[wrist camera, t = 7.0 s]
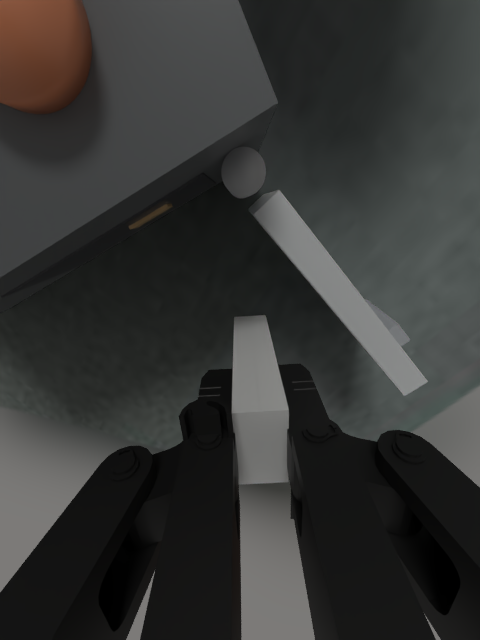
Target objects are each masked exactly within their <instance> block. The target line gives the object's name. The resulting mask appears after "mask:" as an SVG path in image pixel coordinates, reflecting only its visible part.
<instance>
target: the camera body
mask: <svg viewBox="0 0 480 640" xmlns="http://www.w3.org/2000/svg"><path fill="white" fill-rule="evenodd" d="M277 104H278V101H277V98H276V96H275V93H274V90H273V88H272V85H271V83H270V80H269V78H268V75H267V72H266V70H265V67H264V65H263V62H262V60H261V57H260V55H259V52H258V49H257V47H256V44H255V42H254V39H253V37H252V34H251V32H250V29H249V26H248V24H247V21H246V19H245V16H244V14H243V11H242V8H241V6H240V3H239V1H238V0H0V313H1V312H3V311H6V310H8V309H10V308H11V307H13V306H15V305H16V304H18V303H20V302H21V301H23V300H25V299H26V298H28V297H30V296H31V295H33V294H35V293H36V292H38V291H40V290H41V289H43V288H45V287H46V286H48V285H50V284H51V283H53V282H55V281H56V280H58V279H60V278H61V277H63V276H65V275H66V274H68V273H70V272H71V271H73V270H75V269H76V268H78V267H80V266H81V265H83V264H85V263H86V262H88V261H90V260H91V259H93V258H95V257H96V256H98V255H100V254H101V253H103V252H105V251H106V250H108V249H110V248H111V247H113V246H115V245H116V244H118V243H120V242H122V241H123V240H125V239H127V238H128V237H130V236H132V235H133V234H135V233H137V232H138V231H140V230H142V229H143V228H145V227H147V226H148V225H150V224H152V223H153V222H155V221H157V220H158V219H160V218H162V217H163V216H165V215H167V214H168V213H170V212H172V211H173V210H175V209H177V208H178V207H180V206H182V205H183V204H185V203H187V202H188V201H190V200H192V199H193V198H195V197H197V196H198V195H200V194H202V193H203V192H205V191H207V190H208V189H210V188H212V187H213V186H215V185H217V184H218V183H220V182H222V181H223V183H224V185H225V186H226V188H227V189H228V190H229V192H230V193H231V194H232V195H233V196H234V197H236V198H240V199H242V198H246V197H249V196H251V195H253V194H255V193H256V192H257V191H259V189H260V188H261V187H262V185H263V183H264V181H265V177H266V166H265V162H264V160H263V158H262V156H261V155H260V154H259V153H258V150H259V148H260V145H261V143H262V141H263V138H264V136H265V133H266V131H267V129H268V126H269V124H270V121H271V119H272V116H273V114H274V112H275V109H276V107H277Z"/></svg>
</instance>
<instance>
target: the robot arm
mask: <svg viewBox="0 0 480 640" xmlns="http://www.w3.org/2000/svg"><path fill="white" fill-rule="evenodd" d="M179 419H180V425H181V430H182V435H183V440H184V441H182V442H181V443H180V444H178V445H177V446H175V447H173V448H171V449H168V450H165V451H162V452H159V453H156V454H153V455H152V454H151V453H150V452H149V450H148V449H147V448H144V447H141V446H128V447H125V448H122V449H119V450H117V451H116V452H114V453H112V454H111V455H110V456H108V457H107V458H106V459H105V460H104V461H103V462H102V463H101V464H100V466H99V467H98V468H97V469H96V471H95V472H94V473H93V475H92V476H91V477H90V478H89V480H88V481H87V482H86V483H85V485H84V486H83V487H82V489H81V490H80V491H79V493H78V494H77V495H76V496H75V498H74V499H73V500H72V501H71V503H70V504H69V505H68V507H67V508H66V509H65V510H64V512H63V513H62V514H61V516H60V517H59V518H58V519H57V521H56V522H55V523H54V525H53V526H52V527H51V529H50V530H49V531H48V532H47V533H46V535H45V536H44V538H43V539H42V540H41V541H40V542H39V544H38V545H37V547H36V548H35V549H34V550H33V551H32V553H31V554H30V555H29V557H28V558H27V559H26V560H25V562H24V563H23V564H22V566H21V567H20V568H19V570H18V571H17V572H16V573H15V575H14V576H13V577H12V578H11V580H10V581H9V582H8V584H7V585H6V586H5V587H4V589H3V590H2V591H1V592H0V640H126V638H127V636H128V634H129V631H130V629H131V626H132V624H133V622H134V619H135V616H136V614H137V612H138V610H139V607H140V605H141V602H142V600H143V597H144V595H145V593H146V590H147V588H148V585H149V583H150V581H151V578H152V576H153V573H154V571H155V574H154V579H153V583H152V588H151V593H150V597H149V602H148V606H147V611H146V615H145V620H144V625H143V629H142V634H141V639H140V640H241V567H240V503H239V502H240V501H239V489H238V488H239V485H242V484H259V483H260V484H261V483H279V482H280V483H281V482H288V474H289V480H290V485H291V519H294V520H295V527H296V533H297V538H298V544H299V549H300V555H301V561H302V567H303V573H304V578H305V584H306V589H307V595H308V600H309V607H310V612H311V618H312V623H313V629H314V635H315V640H436V639H435V637H434V635H433V632H432V630H431V628H430V626H429V624H428V621H427V619H426V617H427V618H428V620H429V621H430V623H431V625H432V626H433V628H434V629H435V631H436V632H437V634H438V636H439V637H440V639H441V640H480V487H478V486H477V485H476V484H475V483H474V482H473V481H472V480H471V479H470V478H468V477H467V476H466V475H465V474H464V473H463V472H462V471H461V470H459V469H458V468H457V467H456V466H455V465H454V464H453V463H452V462H450V461H449V460H448V459H447V458H446V457H445V456H443V454H442V453H441V452H439V451H438V450H437V449H436V448H435V447H434V446H433V445H432V444H430V443H429V442H427V441H426V440H425V439H423V438H422V437H420V436H417V435H415V434H413V433H410V432H406V431H401V430H392V431H387V432H385V433H383V434H381V436H380V437H379V439H378V441H377V442H375V441H370V440H365V439H360V438H356V437H353V436H350V435H347V434H345V433H343V432H342V430H341V429H340V428H339V426H338V425H337V424H336V423H334V422H333V421H331V420H330V419H329V418H328V415H327V413H326V410H325V408H324V406H323V403H322V401H321V398H320V396H319V394H318V391H317V389H316V386H315V384H314V382H313V379H312V377H311V375H310V372H309V371H308V370H307V369H306V368H305V367H304V366H303V365H301V364H287V365H278V364H277V360H276V356H275V352H274V347H273V343H272V339H271V335H270V331H269V327H268V323H267V319H266V315H257V316H241V317H234V340H233V369H218V370H208V372H207V373H206V374H205V375H204V376H203V377H202V380H201V385H200V390H199V397H198V400H196V401H194V402H192V403H189V404H188V405H187V406H186V407H185V408H184V409H183V410H182V411H181V413H180V415H179ZM424 614H425V615H426V617H425V615H424Z"/></svg>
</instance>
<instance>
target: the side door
mask: <svg viewBox="0 0 480 640" xmlns="http://www.w3.org/2000/svg"><path fill="white" fill-rule="evenodd" d="M248 211H249V212H250V213H251V214H252V215H253V217H254V218H255V219H256V220H257V221H258V223H259V224H260V225H261V226H262V227H263V229H264V230H265V231H266V232H267V233H268V235H269V236H270V237H271V238H272V239H273V241H274V242H275V243H276V244H277V245H278V247H279V248H280V249H281V250H282V251H283V253H284V254H285V255H286V256H287V257H288V258H289V260H290V261H291V262H292V263H293V264H294V266H295V267H296V268H297V269H298V270H299V272H300V273H301V274H302V275H303V276H304V278H305V279H306V280H307V281H308V282H309V284H310V285H311V286H312V287H313V288H314V290H315V291H316V292H317V293H318V294H319V296H320V297H321V298H322V299H323V300H324V302H325V303H326V304H327V305H328V306H329V308H330V309H331V310H332V311H333V312H334V314H335V315H336V316H337V317H338V318H339V320H340V321H341V322H342V323H343V324H344V326H345V327H346V328H347V329H348V330H349V331H350V333H351V334H352V335H353V336H354V337H355V339H356V340H357V341H358V342H359V343H360V344H361V346H362V347H363V348H364V349H365V350H366V351H367V353H368V354H369V355H370V356H371V357H372V358H373V360H374V361H375V362H376V363H377V364H378V365H379V367H380V368H381V369H382V370H383V371H384V373H385V374H386V375H387V376H388V377H389V378H390V380H391V381H392V382H393V383H394V384H395V385H396V387H397V388H398V389H399V390H400V391H401V392H402V394H403V395H404V396H406V395H407V394H409V393H410V392H412V391H414V390H415V389H417V388H418V387H420V386H422V385H423V384H425V383H427V382H428V381H427V380H426V379H425V377H424V376H423V375H422V373H421V372H420V371H419V369H418V368H417V367H416V366H415V364H414V363H413V362H412V360H411V359H410V358H409V357H408V355H407V354H406V353H405V351H404V350H403V349H402V347H401V346H403V345H404V344H405V343H407V342H408V341H410V339H409V337H408V336H407V335H406V333H405V332H404V331H403V329H402V328H401V327H400V325H399V324H398V323H397V322H396V321H394V320H393V319H392V318H390V317H389V316H388V315H386V314H385V313H384V312H382V311H381V310H380V309H379V308H377V307H376V306H375V305H373V304H372V303H371V302H369V301H368V300H367V299H366V300H364V298H363V297H362V296H361V295H360V293H359V292H358V291H357V289H356V288H355V287H354V285H353V284H352V283H351V282H350V280H349V279H348V278H347V276H346V275H345V274H344V273H343V271H342V270H341V269H340V267H339V266H338V265H337V264H336V262H335V261H334V260H333V258H332V257H331V256H330V254H329V253H328V252H327V251H326V249H325V248H324V247H323V245H322V244H321V243H320V242H319V240H318V239H317V238H316V236H315V235H314V234H313V232H312V231H311V230H310V229H309V227H308V226H307V225H306V223H305V222H304V221H303V220H302V218H301V217H300V216H299V214H298V213H297V212H296V211H295V209H294V208H293V207H292V205H291V204H290V203H289V201H288V200H287V199H286V198H285V196H284V195H283V194H282V192H281V191H280V190H277V191H273V192H269V193H265V194H263V195H262V196H261V197H260V198H259V199H258V200H257V201H256V202H255V203H254V204H253V205H251V206H250V207H249V208H248Z"/></svg>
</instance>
